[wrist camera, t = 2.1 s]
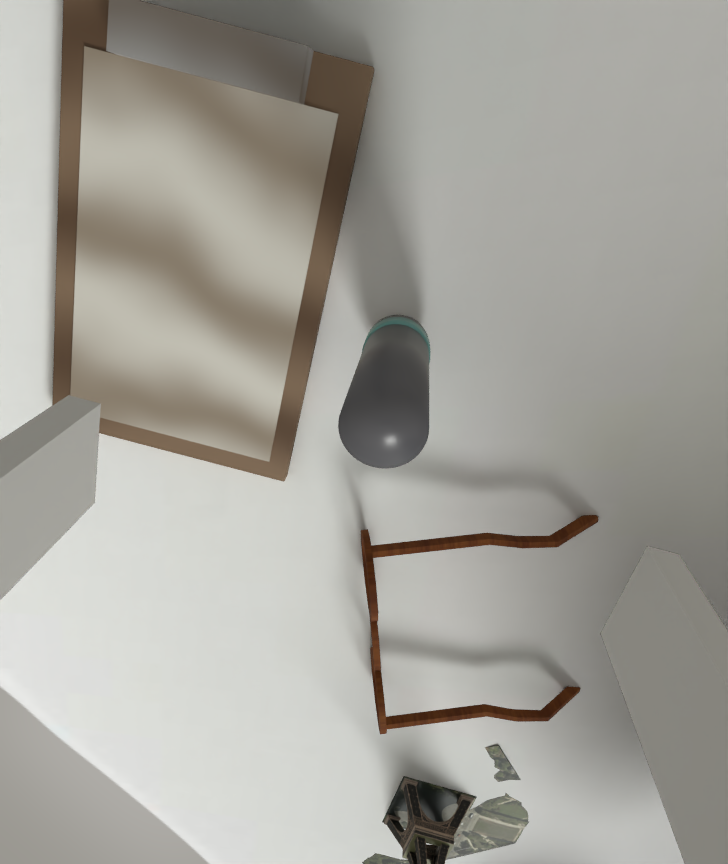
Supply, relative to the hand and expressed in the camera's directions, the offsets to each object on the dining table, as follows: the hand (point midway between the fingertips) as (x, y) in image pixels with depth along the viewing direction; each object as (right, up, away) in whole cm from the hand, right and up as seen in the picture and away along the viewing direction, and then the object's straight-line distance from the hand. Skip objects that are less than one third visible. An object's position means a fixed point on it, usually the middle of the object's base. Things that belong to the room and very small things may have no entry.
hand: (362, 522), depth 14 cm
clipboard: (-8, +10, +15) cm, 20 cm away
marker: (+2, +7, +16) cm, 17 cm away
